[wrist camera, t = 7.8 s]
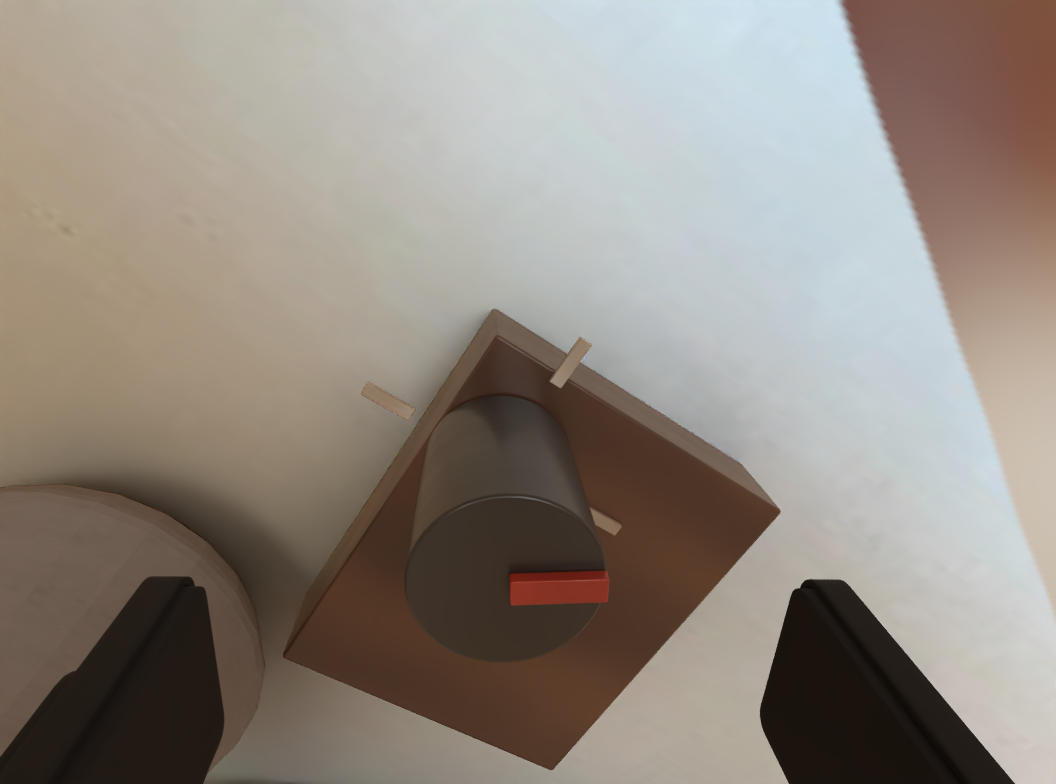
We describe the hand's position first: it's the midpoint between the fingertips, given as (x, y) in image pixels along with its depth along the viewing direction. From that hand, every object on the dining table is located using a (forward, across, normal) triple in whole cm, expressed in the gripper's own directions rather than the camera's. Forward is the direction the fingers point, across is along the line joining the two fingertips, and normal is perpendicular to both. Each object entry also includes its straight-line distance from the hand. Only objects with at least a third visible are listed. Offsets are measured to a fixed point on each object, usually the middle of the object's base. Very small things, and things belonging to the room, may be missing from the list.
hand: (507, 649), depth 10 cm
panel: (+10, -1, +4) cm, 11 cm away
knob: (+7, 0, +1) cm, 7 cm away
